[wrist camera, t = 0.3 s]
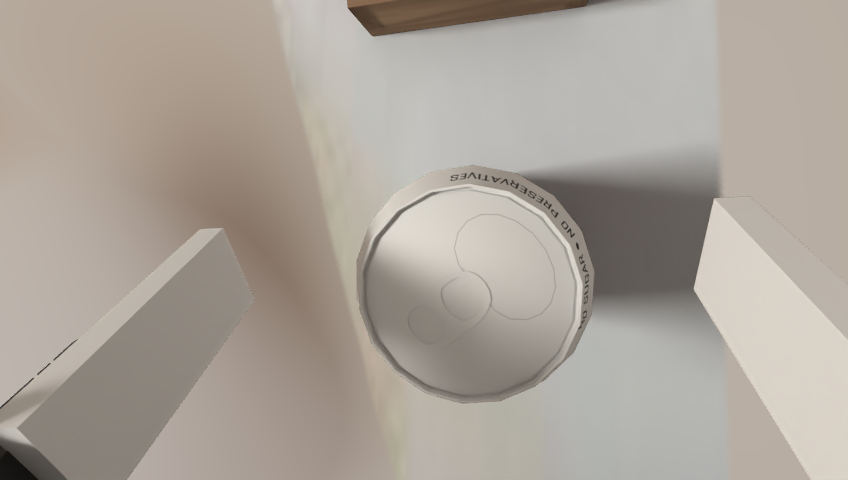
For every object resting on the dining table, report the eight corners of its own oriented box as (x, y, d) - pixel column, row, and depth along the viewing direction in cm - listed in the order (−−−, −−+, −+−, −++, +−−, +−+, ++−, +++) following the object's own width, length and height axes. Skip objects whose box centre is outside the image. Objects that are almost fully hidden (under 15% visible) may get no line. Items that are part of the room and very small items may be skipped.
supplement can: (496, 149, 27) (486, 105, 13) (578, 252, 27) (664, 327, 13) (399, 228, 29) (292, 270, 14) (475, 325, 29) (446, 467, 14)
